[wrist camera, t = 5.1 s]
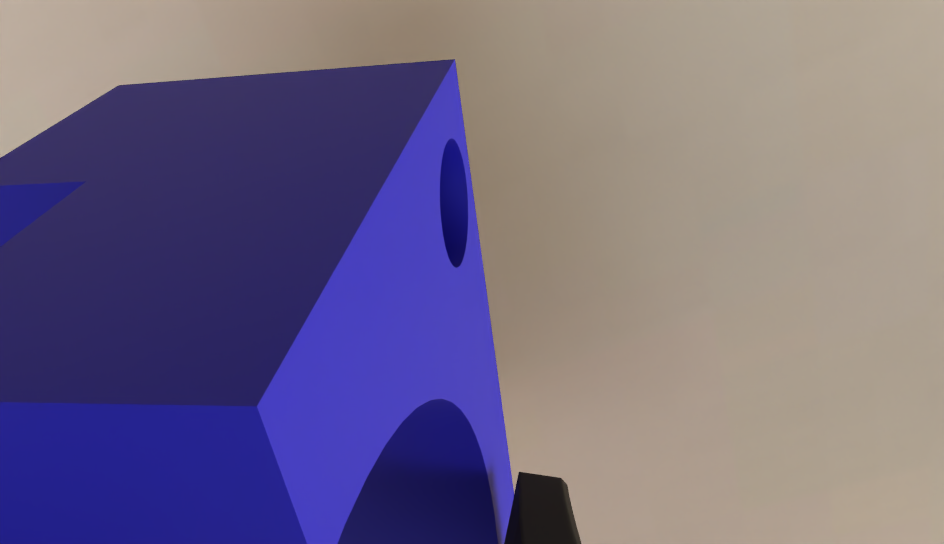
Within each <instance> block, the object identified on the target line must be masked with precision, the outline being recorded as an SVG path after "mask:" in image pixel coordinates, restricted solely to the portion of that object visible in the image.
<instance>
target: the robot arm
mask: <svg viewBox="0 0 944 544" xmlns="http://www.w3.org/2000/svg"><path fill="white" fill-rule="evenodd" d="M504 544H581V541H580V537H579V534H578V530H577V527H576V523H575V519H574V515H573V511H572V506H571V502H570V498H569V493H568V487H567V484H566V483H565V482H564V481H563V480H562V479H561V478H557V477H550V476H544V475H537V474H530V473H523V472H519V475H518V479H517V484H516V489H515V494H514V499H513V503H512V508H511V513H510V518H509V523H508V527H507V532H506V537H505V542H504Z"/></svg>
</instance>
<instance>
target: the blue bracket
mask: <svg viewBox="0 0 944 544" xmlns="http://www.w3.org/2000/svg"><path fill="white" fill-rule="evenodd" d="M513 499H514V490H513V483H512V475H511V468H510V461H509V453H508V446H507V439H506V431H505V424H504V417H503V409H502V402H501V395H500V387H499V380H498V373H497V365H496V358H495V351H494V343H493V336H492V328H491V321H490V314H489V306H488V299H487V292H486V284H485V277H484V270H483V262H482V255H481V248H480V240H479V233H478V226H477V218H476V211H475V203H474V196H473V189H472V181H471V174H470V167H469V159H468V152H467V145H466V137H465V130H464V123H463V115H462V108H461V101H460V93H459V86H458V79H457V71H456V64H455V59H453V60H440V61H427V62H414V63H401V64H388V65H375V66H362V67H350V68H337V69H324V70H311V71H298V72H285V73H272V74H259V75H246V76H234V77H221V78H208V79H195V80H182V81H169V82H156V83H143V84H130V85H119V86H117V87H115V88H114V89H112V90H110V91H109V92H107V93H106V94H104V95H102V96H101V97H99V98H97V99H96V100H94V101H92V102H91V103H89V104H88V105H86V106H84V107H83V108H81V109H79V110H78V111H76V112H75V113H73V114H71V115H70V116H68V117H66V118H65V119H63V120H62V121H60V122H58V123H57V124H55V125H53V126H52V127H50V128H48V129H47V130H45V131H44V132H42V133H40V134H39V135H37V136H35V137H34V138H32V139H31V140H29V141H27V142H26V143H24V144H22V145H21V146H19V147H18V148H16V149H14V150H13V151H11V152H9V153H8V154H6V155H5V156H3V157H1V158H0V544H504V542H505V537H506V532H507V527H508V523H509V518H510V513H511V508H512V503H513Z"/></svg>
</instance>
